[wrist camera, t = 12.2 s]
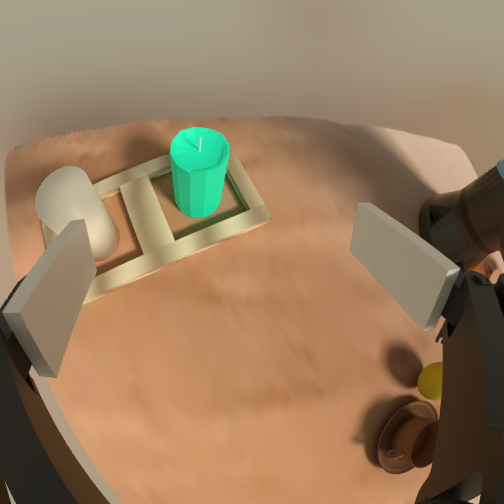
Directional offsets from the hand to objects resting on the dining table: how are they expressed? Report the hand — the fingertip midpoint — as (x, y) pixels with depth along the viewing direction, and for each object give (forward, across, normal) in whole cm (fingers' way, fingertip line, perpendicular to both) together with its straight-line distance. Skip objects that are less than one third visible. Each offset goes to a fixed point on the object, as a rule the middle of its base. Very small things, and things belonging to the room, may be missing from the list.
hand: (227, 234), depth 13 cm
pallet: (+22, -8, -7) cm, 25 cm away
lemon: (+4, +28, -27) cm, 39 cm away
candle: (+24, -1, -6) cm, 25 cm away
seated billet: (+21, -14, -9) cm, 27 cm away
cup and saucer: (-2, +24, -33) cm, 41 cm away
